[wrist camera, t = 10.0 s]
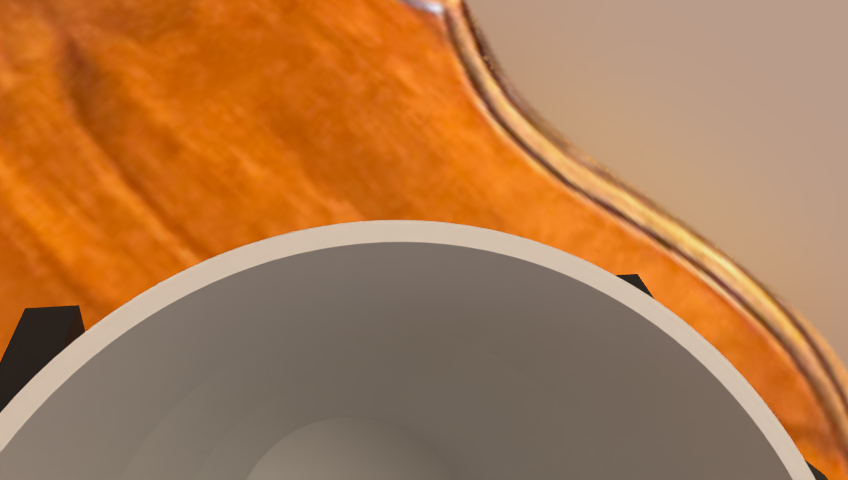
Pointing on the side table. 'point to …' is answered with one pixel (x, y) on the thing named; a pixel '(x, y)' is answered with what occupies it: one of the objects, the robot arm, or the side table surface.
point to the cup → (393, 372)
